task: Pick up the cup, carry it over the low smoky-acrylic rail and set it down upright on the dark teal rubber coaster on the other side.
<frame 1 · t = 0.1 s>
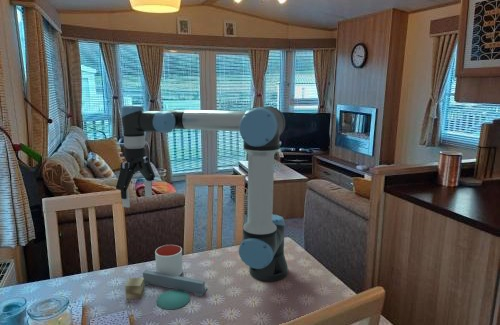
hand: (137, 201, 133), 28 cm above the table, fingers open, 13 cm apart
coaster: (173, 299, 117), on the table
oak block: (135, 294, 120), on the table
rail: (173, 286, 125), on the table
cup: (169, 274, 134), on the table
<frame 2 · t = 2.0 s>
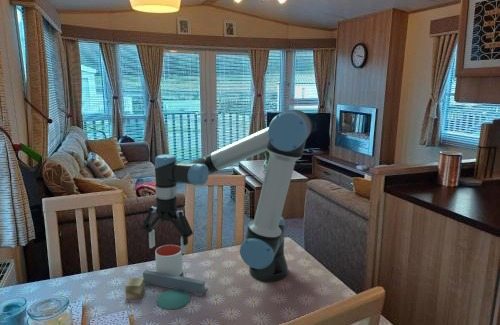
hand: (167, 249, 132), 10 cm above the table, fingers open, 13 cm apart
nothing on the table moved.
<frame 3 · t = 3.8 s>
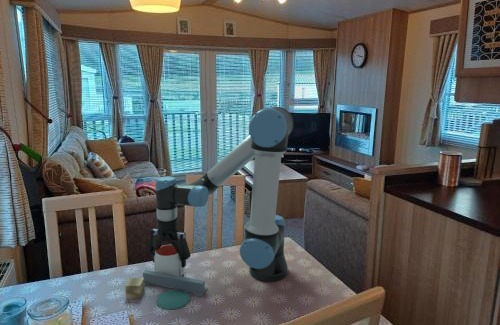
hand: (169, 272, 134), 1 cm above the table, fingers closed on cup, 10 cm apart
cup: (169, 274, 134), on the table, touching gripper
everything else where it was.
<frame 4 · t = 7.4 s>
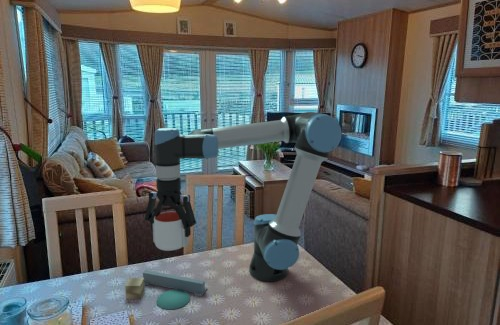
hand: (171, 243, 113), 21 cm above the table, fingers closed on cup, 10 cm apart
cup: (171, 245, 113), point 20 cm above the table, touching gripper
everything else where it was.
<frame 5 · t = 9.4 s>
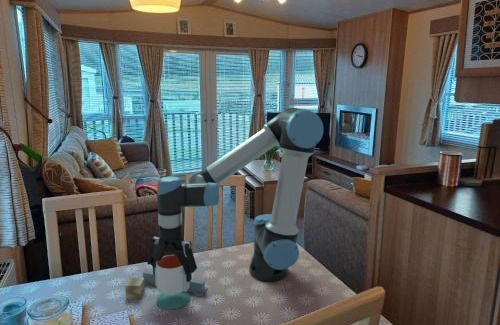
hand: (172, 286, 116), 5 cm above the table, fingers closed on cup, 10 cm apart
cup: (172, 289, 116), point 4 cm above the table, touching gripper
everything else where it was.
when the fingers open (2 cm above the table, at t = 11.0 s): cup stays where it is, resting on coaster.
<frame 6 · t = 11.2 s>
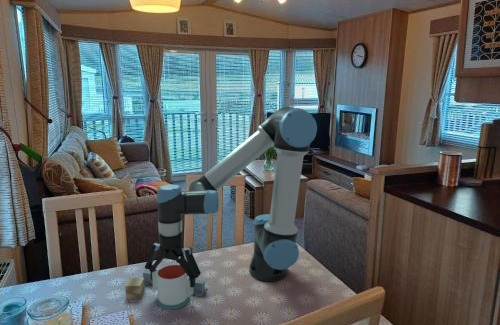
hand: (173, 291, 117), 3 cm above the table, fingers open, 12 cm apart
cup: (173, 299, 117), resting on coaster
everything else where it was.
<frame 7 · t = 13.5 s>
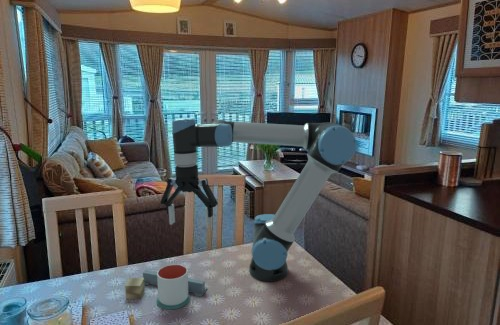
hand: (190, 224, 120), 24 cm above the table, fingers open, 13 cm apart
nothing on the table moved.
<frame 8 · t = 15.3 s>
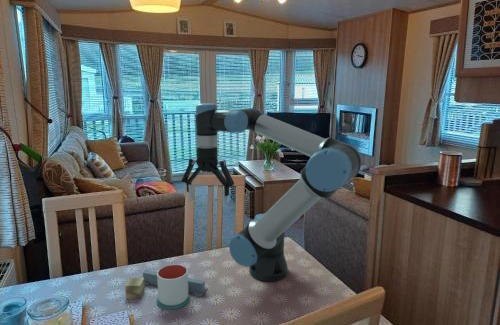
hand: (207, 202, 130), 29 cm above the table, fingers open, 13 cm apart
nothing on the table moved.
at the end: cup 0.1 cm from the coaster (horizontally); cup tilted 0°; the gripper is holding nothing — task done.
